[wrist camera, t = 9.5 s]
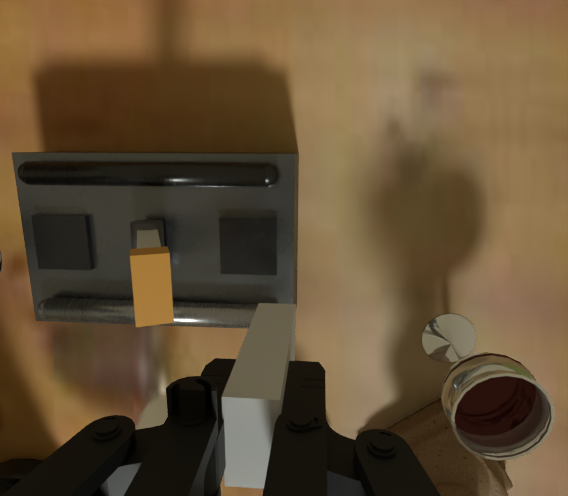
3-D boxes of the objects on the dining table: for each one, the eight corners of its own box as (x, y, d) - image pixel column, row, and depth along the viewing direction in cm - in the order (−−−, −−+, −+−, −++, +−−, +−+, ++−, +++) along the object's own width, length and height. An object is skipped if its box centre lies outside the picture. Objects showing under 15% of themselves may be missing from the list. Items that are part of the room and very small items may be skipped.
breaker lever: (134, 270, 33) (132, 327, 23) (129, 220, 32) (125, 256, 22) (165, 267, 34) (177, 322, 24) (162, 218, 33) (173, 252, 23)
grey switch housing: (75, 296, 42) (21, 329, 34) (58, 151, 39) (-6, 152, 31) (296, 303, 40) (291, 340, 33) (298, 152, 37) (293, 154, 29)
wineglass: (397, 331, 40) (430, 406, 28) (460, 290, 39) (520, 353, 27) (438, 383, 41) (485, 477, 29) (500, 346, 40) (575, 429, 28)
